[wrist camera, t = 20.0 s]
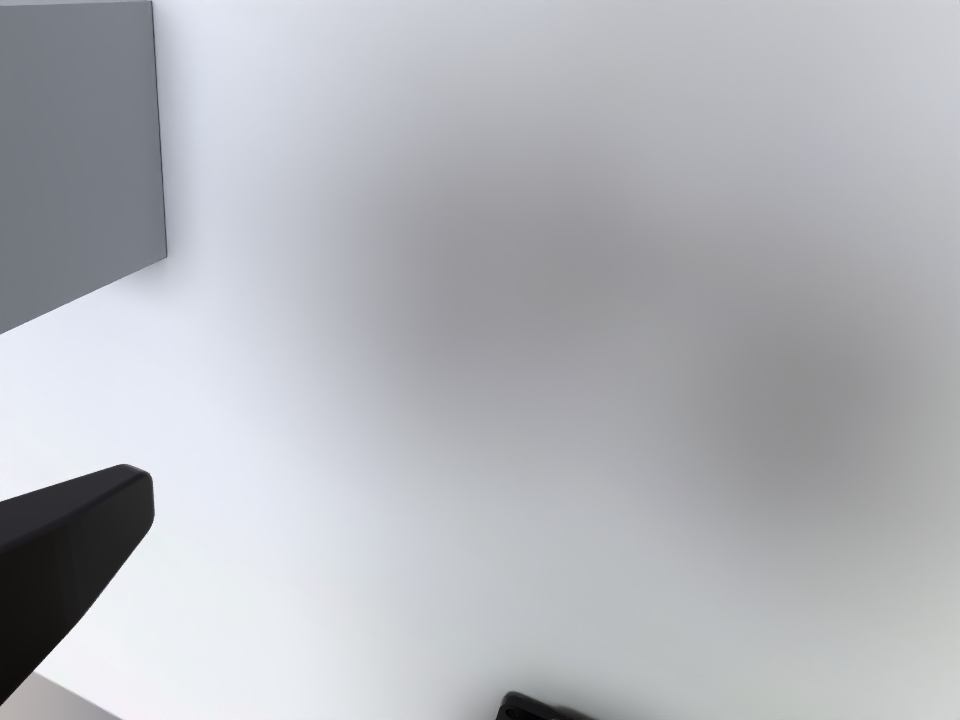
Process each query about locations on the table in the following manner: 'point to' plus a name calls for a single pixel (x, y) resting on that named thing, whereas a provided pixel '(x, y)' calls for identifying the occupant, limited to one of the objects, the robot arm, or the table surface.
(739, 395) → the table surface
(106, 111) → the grey matte cube
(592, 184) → the table surface
